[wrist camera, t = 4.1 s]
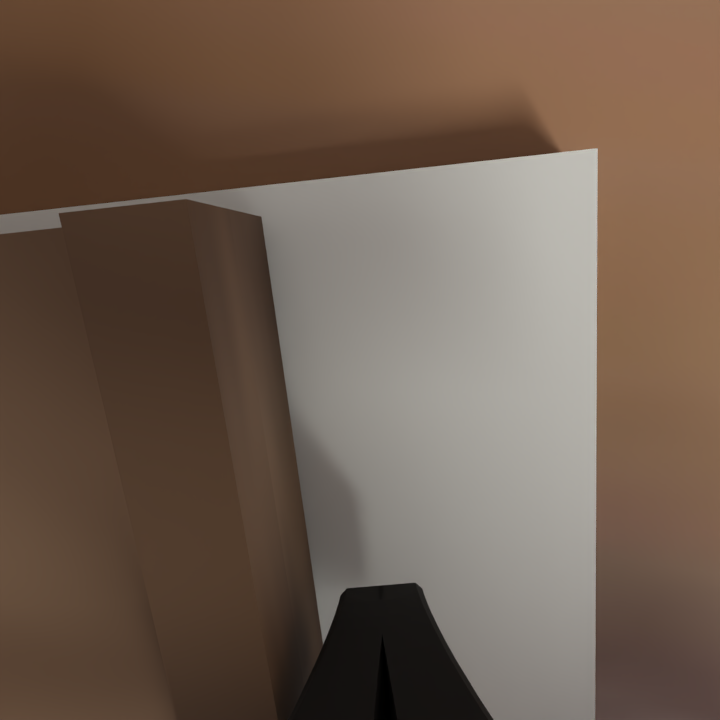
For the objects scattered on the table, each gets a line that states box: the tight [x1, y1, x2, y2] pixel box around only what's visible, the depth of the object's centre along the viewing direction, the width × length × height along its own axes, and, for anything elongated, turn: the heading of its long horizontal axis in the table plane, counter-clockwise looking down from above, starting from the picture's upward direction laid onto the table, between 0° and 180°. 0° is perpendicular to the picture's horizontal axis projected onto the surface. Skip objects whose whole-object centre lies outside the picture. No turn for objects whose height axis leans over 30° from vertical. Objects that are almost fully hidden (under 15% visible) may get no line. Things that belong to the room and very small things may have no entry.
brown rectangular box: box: [0, 199, 323, 720], centre depth 8 cm, size 14×9×4 cm, turn 6°
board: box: [0, 148, 598, 720], centre depth 9 cm, size 15×18×5 cm
